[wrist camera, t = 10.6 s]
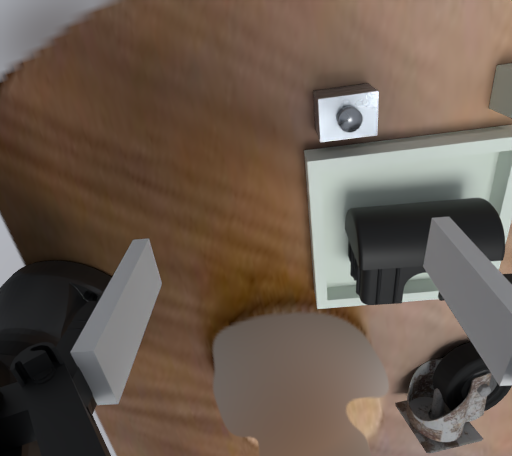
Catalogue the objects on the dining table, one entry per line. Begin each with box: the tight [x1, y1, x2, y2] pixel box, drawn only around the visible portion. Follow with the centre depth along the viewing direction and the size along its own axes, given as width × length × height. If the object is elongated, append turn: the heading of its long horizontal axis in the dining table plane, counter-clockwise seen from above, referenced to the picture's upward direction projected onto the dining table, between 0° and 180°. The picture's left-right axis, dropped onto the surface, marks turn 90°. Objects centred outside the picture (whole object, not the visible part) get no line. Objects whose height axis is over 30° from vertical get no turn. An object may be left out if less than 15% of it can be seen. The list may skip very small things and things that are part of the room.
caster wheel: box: [395, 342, 512, 453], centre depth 40 cm, size 7×11×10 cm
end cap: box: [345, 198, 505, 305], centre depth 29 cm, size 10×7×7 cm
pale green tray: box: [304, 63, 512, 309], centre depth 30 cm, size 16×20×3 cm
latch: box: [313, 83, 379, 142], centre depth 26 cm, size 4×3×4 cm
